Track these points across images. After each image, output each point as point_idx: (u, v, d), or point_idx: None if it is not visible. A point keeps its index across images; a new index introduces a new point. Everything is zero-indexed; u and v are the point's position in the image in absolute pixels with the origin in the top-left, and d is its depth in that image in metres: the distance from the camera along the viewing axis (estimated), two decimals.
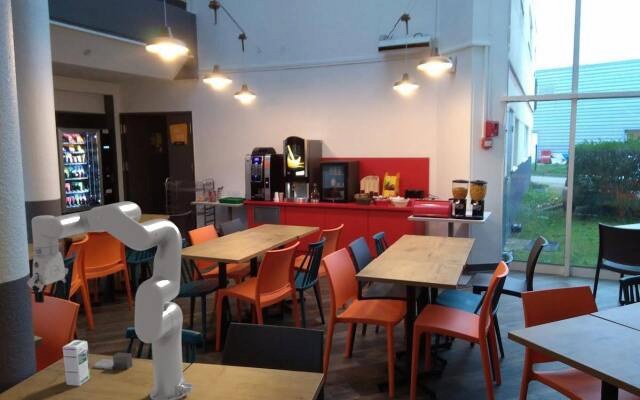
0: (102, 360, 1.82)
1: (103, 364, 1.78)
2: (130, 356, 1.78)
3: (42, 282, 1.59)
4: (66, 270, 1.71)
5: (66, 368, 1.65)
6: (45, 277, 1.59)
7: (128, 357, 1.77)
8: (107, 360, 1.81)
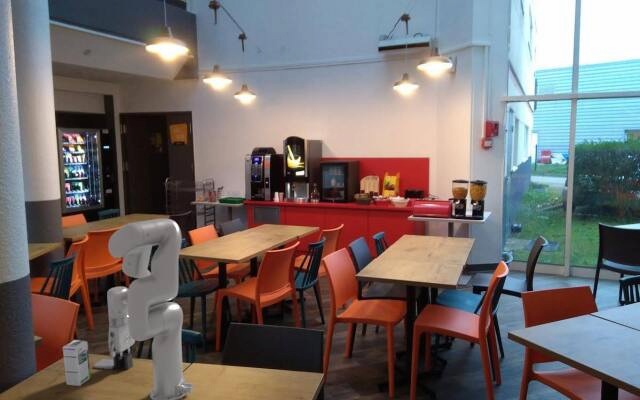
0: (102, 360, 1.81)
1: (103, 364, 1.78)
2: (130, 356, 1.78)
3: (117, 350, 1.72)
4: None
5: (66, 368, 1.65)
6: (120, 345, 1.72)
7: (128, 357, 1.77)
8: (107, 360, 1.81)
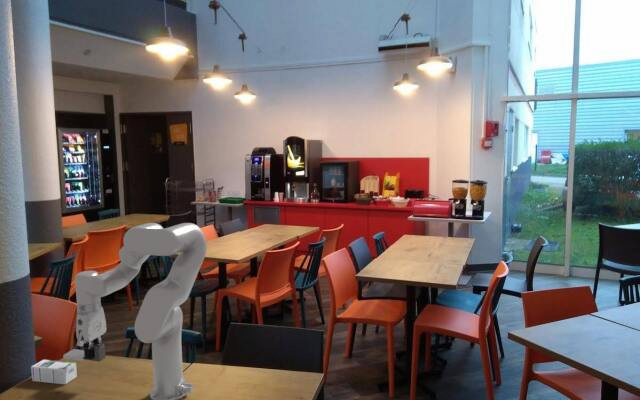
0: (73, 350, 1.68)
1: (73, 355, 1.65)
2: (103, 347, 1.64)
3: (86, 339, 1.59)
4: None
5: (51, 381, 1.67)
6: (88, 334, 1.59)
7: (101, 348, 1.63)
8: (78, 350, 1.68)
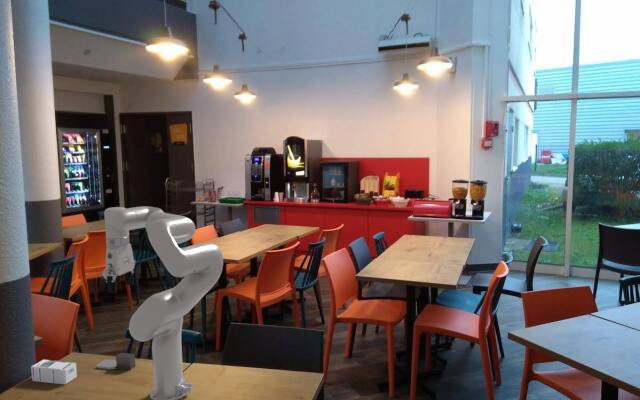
0: (105, 360, 1.81)
1: (106, 364, 1.78)
2: (133, 356, 1.77)
3: (115, 273, 1.61)
4: (134, 261, 1.74)
5: (51, 381, 1.67)
6: (118, 268, 1.62)
7: (131, 357, 1.76)
8: (110, 360, 1.81)
